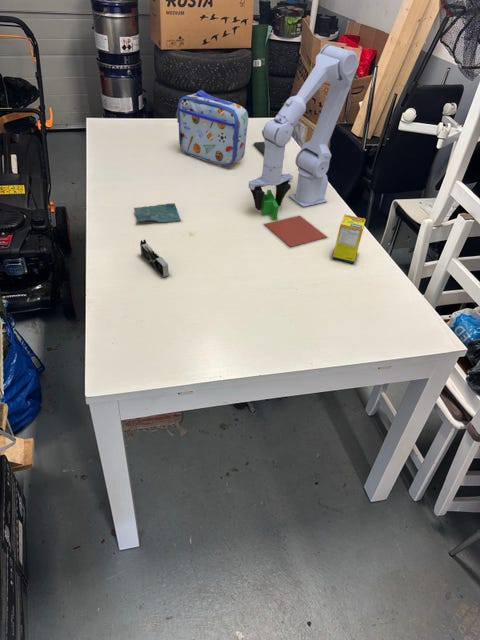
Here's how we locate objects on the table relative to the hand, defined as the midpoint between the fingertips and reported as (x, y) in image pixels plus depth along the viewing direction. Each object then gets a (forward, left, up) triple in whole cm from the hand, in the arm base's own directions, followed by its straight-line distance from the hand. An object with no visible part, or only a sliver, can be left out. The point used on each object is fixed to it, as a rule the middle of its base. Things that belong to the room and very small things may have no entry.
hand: (267, 206), depth 143 cm
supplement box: (-6, +30, -2) cm, 31 cm away
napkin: (-1, +14, -1) cm, 14 cm away
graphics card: (+43, +13, -2) cm, 45 cm away
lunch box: (-2, -44, -2) cm, 44 cm away
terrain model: (+33, -10, -2) cm, 34 cm away
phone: (-27, -42, -1) cm, 50 cm away
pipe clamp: (0, 0, -2) cm, 2 cm away
